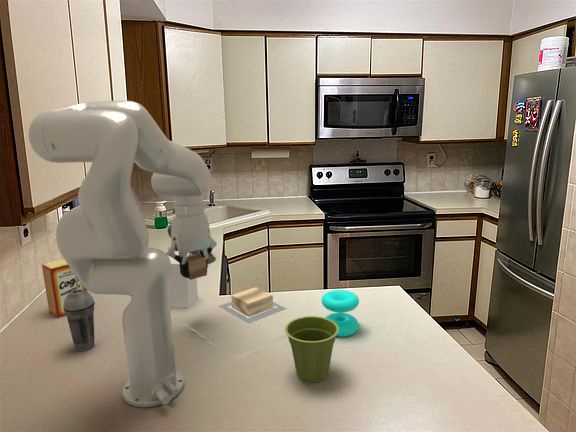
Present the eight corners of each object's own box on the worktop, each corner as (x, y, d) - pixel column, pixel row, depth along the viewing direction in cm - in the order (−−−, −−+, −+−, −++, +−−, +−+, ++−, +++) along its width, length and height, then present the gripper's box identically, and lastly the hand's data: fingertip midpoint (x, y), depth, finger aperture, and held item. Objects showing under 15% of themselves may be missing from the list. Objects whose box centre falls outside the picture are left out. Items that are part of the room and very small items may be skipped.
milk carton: (189, 310, 129) (184, 251, 125) (167, 309, 131) (162, 250, 127) (198, 301, 136) (194, 244, 132) (178, 300, 138) (173, 244, 134)
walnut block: (207, 275, 117) (205, 258, 116) (190, 279, 114) (189, 262, 113) (198, 271, 121) (196, 254, 120) (182, 275, 118) (180, 258, 117)
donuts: (366, 295, 112) (341, 306, 106) (366, 330, 114) (341, 342, 108) (339, 285, 120) (313, 295, 114) (339, 318, 122) (314, 329, 116)
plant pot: (275, 374, 95) (273, 328, 93) (310, 354, 103) (310, 311, 101) (314, 397, 87) (313, 347, 84) (349, 373, 95) (349, 327, 92)
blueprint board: (286, 311, 127) (286, 308, 127) (248, 325, 119) (248, 322, 118) (255, 295, 139) (255, 293, 139) (219, 308, 130) (218, 305, 130)
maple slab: (273, 307, 128) (272, 295, 127) (248, 316, 123) (248, 303, 122) (255, 298, 135) (255, 287, 134) (231, 307, 129) (231, 294, 128)
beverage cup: (66, 356, 105) (54, 280, 101) (72, 342, 112) (62, 271, 108) (97, 351, 107) (87, 277, 103) (102, 338, 114) (92, 267, 110)
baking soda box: (80, 302, 138) (73, 255, 135) (89, 307, 134) (82, 259, 130) (49, 312, 131) (41, 263, 128) (57, 318, 127) (50, 267, 123)
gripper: (210, 204, 122) (214, 264, 125) (153, 213, 111) (159, 278, 115) (224, 207, 116) (227, 270, 120) (165, 217, 105) (172, 285, 109)
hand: (194, 273), depth 117 cm, fingers closed on walnut block, 5 cm apart
